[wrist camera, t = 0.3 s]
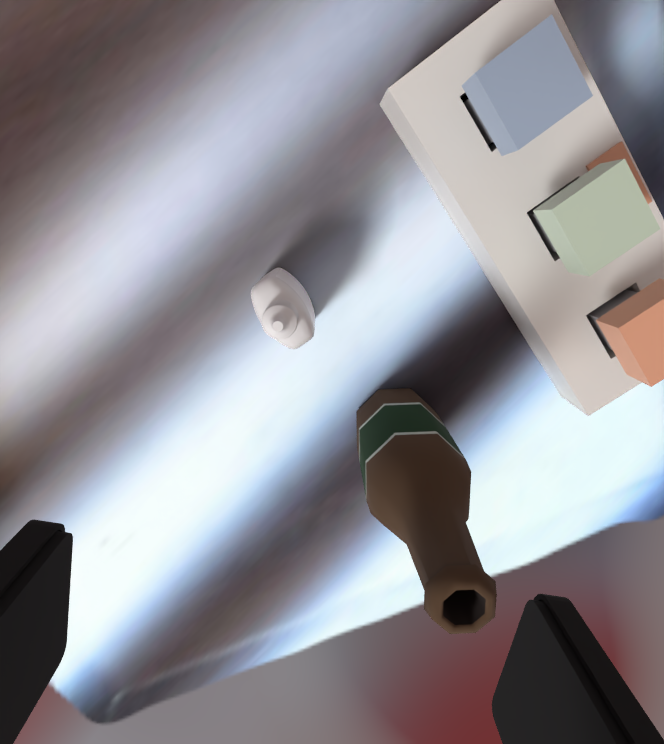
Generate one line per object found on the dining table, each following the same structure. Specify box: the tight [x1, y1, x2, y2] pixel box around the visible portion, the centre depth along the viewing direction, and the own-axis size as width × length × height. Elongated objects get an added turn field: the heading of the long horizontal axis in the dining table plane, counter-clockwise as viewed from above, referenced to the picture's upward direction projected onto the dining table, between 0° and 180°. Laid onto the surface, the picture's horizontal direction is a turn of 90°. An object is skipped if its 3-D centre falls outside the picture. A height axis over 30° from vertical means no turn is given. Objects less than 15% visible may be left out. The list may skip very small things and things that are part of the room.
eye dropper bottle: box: [251, 267, 315, 349], centre depth 38 cm, size 4×6×12 cm
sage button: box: [527, 159, 660, 277], centre depth 37 cm, size 5×5×8 cm
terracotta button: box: [586, 278, 664, 387], centre depth 39 cm, size 5×5×8 cm
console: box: [379, 0, 664, 416], centre depth 40 cm, size 30×12×5 cm, turn 36°
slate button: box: [462, 14, 593, 156], centre depth 34 cm, size 5×5×8 cm
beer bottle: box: [357, 388, 497, 634], centre depth 36 cm, size 8×8×24 cm
